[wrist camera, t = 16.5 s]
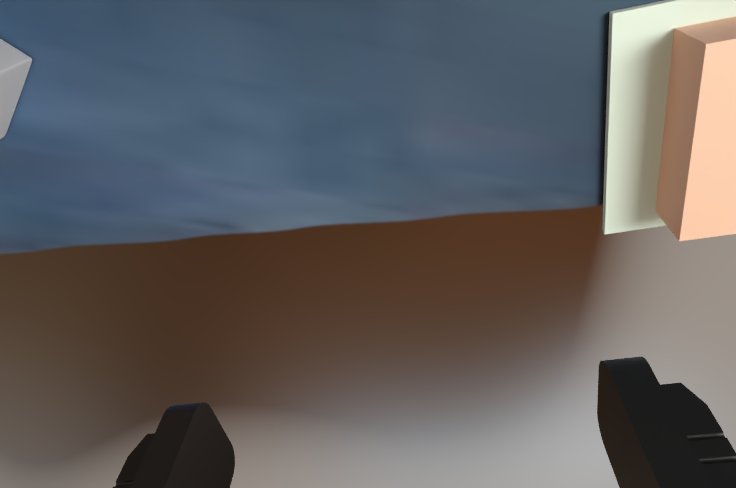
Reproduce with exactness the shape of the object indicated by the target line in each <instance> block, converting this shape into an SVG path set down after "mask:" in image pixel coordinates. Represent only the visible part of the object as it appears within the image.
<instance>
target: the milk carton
mask: <svg viewBox="0 0 736 488" xmlns="http://www.w3.org/2000/svg"><path fill="white" fill-rule="evenodd" d="M31 63H32V58H31V57H29V56H27V55H26V54H24V53H23V52H21V51H19V50H18V49H16V48H15V47H13V46H11V45H10V44H8V43H7V42H5V41H3V40H2V39H0V139H1V138H3V137H4V136H5V135H6V133H7V130H8V127H9V125H10V122H11V119H12V116H13V114H14V111H15V108H16V105H17V102H18V100H19V97H20V94H21V91H22V88H23V86H24V83H25V80H26V77H27V74H28V72H29V69H30V66H31Z"/></svg>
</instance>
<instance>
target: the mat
mask: <svg viewBox="0 0 736 488" xmlns="http://www.w3.org/2000/svg"><path fill="white" fill-rule="evenodd" d="M735 16H736V0H664V1H659V2H654V3H649V4H645V5H640V6H635V7H630V8H625V9H620V10H615V11H611V12H609V41H608V70H607V100H606V130H605V160H604V190H603V221H602V222H603V223H602V231H603V232H604V234H611V233H618V232H625V231H632V230H639V229H646V228H653V227H660V226H667V225H666V224H665V223H664V221H663V220H662V219H661V218H660V216H659V215H658V214H657V213H656V201H657V192H658V182H659V172H660V162H661V153H662V143H663V133H664V124H665V114H666V104H667V95H668V85H669V75H670V65H671V56H672V46H673V36H674V28H678V27H683V26H688V25H694V24H699V23H704V22H709V21H714V20H719V19H725V18H730V17H735Z"/></svg>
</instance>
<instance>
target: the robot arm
mask: <svg viewBox="0 0 736 488" xmlns="http://www.w3.org/2000/svg"><path fill="white" fill-rule="evenodd" d="M598 380H599V381H598V408H597V414H598V422H599V428H600V432H601V437H602V440H603V443H604V446H605V449H606V452H607V454H608V457H609V460H610V463H611V465H612V468H613V471H614V474H615V476H616V479H617V482H618V484H619V487H620V488H736V453H735V451H734V449H733V448H732V446H731V444H730V442H729V441H728V439H727V438H725V437H724V434H723V431H722V429H721V427H720V426H719V424H718V422H717V421H716V419H715V417H714V416H713V414H712V412H711V411H710V409H709V408H708V406H707V405H706V404H705V403H704V402H703V401H702V400H701V399H699V398H698V397H697V396H696V395H695V394H693V393H692V392H691V391H690V390H689V389H687V388H686V387H685V386H684V385H683V384H682V383H674V384H663V385H660V384H659V382H658V381H657V379H656V377H655V375H654V373H653V371H652V369H651V367H650V365H649V364H648V362H647V361H646V359H645V358H643V357H634V358H624V359H615V360H605V361H601V362H600V364H599V379H598ZM234 466H235V456H234V450H233V446H232V444H231V442H230V440H229V438H228V437H227V435H226V433H225V432H224V430H223V428H222V426H221V424H220V423H219V421H218V419H217V417H216V416H215V414H214V412H213V410H212V409H211V407H210V405H209V404H207V403H204V402H202V403H193V404H184V405H174V406H171V407H169V408H168V409H167V410H166V411H165V413H164V415H163V417H162V419H161V421H160V423H159V426H158V428H157V430H156V432H155V434H147V435H146V436H145V437H144V439H143V440H142V441H141V442H140V443H139V444H138V446H137V447H136V448H135V449H134V450H133V451H132V452H131V454H130V455H129V456H128V458H127V460H126V462H125V464H124V466H123V468H122V470H121V472H120V474H119V476H118V478H117V481H116V486H115V487H113V488H230V484H231V481H232V477H233V473H234Z"/></svg>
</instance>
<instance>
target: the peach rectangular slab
mask: <svg viewBox="0 0 736 488" xmlns="http://www.w3.org/2000/svg"><path fill="white" fill-rule="evenodd" d="M656 213H657V214H658V215H659V216H660V218H661V219H662V220H663V221H664V223H665V224H666V225H667V226H668V228H669V229H670V230H671V231H672V233H673V234H674V235H675V236H676V238H677V239H678V240H679V241H685V240H691V239H699V238H706V237H714V236H722V235H729V234H736V16H735V17H730V18H725V19H719V20H714V21H709V22H704V23H699V24H694V25H688V26H683V27H678V28H674V36H673V46H672V56H671V65H670V75H669V85H668V95H667V104H666V114H665V124H664V133H663V143H662V153H661V162H660V172H659V182H658V192H657V201H656Z"/></svg>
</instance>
